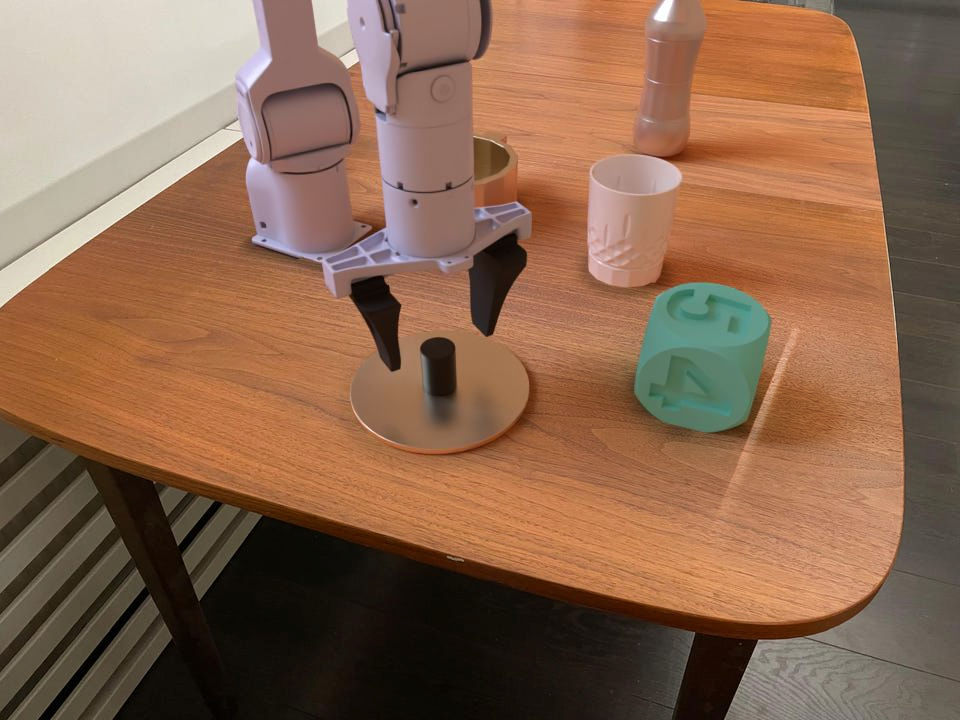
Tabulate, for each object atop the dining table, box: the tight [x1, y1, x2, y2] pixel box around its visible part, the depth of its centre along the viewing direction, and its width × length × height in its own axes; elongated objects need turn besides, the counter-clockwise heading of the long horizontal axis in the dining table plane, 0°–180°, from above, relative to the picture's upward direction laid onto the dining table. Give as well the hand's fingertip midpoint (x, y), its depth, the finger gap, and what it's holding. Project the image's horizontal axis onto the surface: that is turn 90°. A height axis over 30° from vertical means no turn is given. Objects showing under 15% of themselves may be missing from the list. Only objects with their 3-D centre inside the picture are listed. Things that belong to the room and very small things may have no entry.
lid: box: [349, 330, 530, 455], centre depth 57 cm, size 14×14×5 cm
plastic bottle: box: [632, 0, 708, 157], centre depth 86 cm, size 6×7×20 cm
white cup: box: [586, 153, 684, 289], centre depth 68 cm, size 8×8×10 cm
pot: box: [473, 130, 519, 208], centre depth 79 cm, size 13×18×6 cm
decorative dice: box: [633, 281, 773, 433], centre depth 55 cm, size 8×8×8 cm
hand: (437, 345), depth 55 cm, fingers open, 7 cm apart
